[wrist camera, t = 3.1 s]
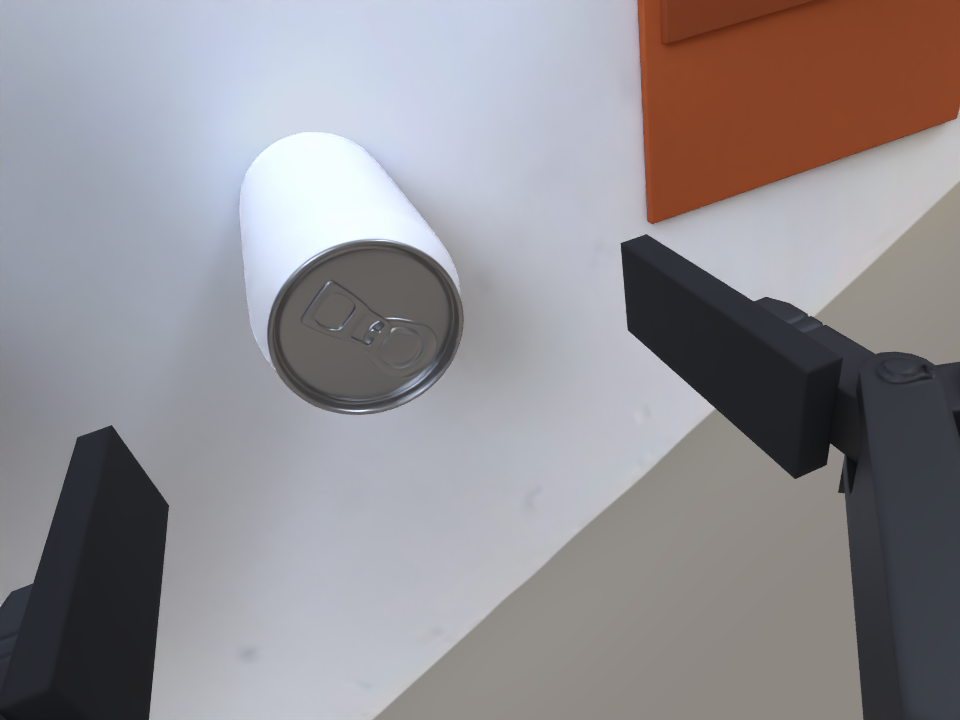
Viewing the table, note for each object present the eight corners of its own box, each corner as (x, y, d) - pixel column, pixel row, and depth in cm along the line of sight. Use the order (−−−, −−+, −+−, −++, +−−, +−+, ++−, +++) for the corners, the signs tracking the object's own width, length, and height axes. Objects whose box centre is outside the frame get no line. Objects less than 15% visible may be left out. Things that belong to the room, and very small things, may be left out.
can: (338, 299, 30) (394, 455, 21) (208, 226, 27) (203, 374, 17) (418, 187, 29) (519, 298, 19) (292, 95, 25) (338, 174, 16)
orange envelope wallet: (647, 221, 34) (657, 227, 33) (635, -40, 27) (647, -40, 26) (949, 116, 37) (965, 120, 37) (1006, -139, 31) (1027, -142, 30)
